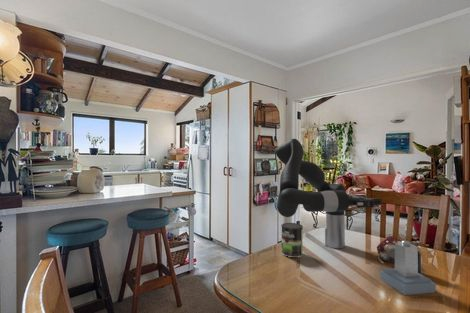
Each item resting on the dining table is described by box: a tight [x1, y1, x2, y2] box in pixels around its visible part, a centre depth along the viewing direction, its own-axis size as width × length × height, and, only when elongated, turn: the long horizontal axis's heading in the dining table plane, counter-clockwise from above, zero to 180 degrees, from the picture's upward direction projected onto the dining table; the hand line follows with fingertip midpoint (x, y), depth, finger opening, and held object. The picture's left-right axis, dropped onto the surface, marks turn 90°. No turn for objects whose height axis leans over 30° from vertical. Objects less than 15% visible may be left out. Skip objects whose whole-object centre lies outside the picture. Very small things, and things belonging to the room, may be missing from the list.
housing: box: [393, 239, 420, 279], centre depth 94 cm, size 6×6×12 cm
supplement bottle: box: [410, 241, 423, 275], centre depth 103 cm, size 7×7×12 cm
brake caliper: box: [376, 235, 401, 264], centre depth 115 cm, size 11×11×12 cm
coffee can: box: [281, 222, 304, 258], centre depth 125 cm, size 10×10×14 cm
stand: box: [379, 267, 436, 296], centre depth 94 cm, size 12×12×4 cm
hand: (372, 199), depth 93 cm, fingers open, 8 cm apart
